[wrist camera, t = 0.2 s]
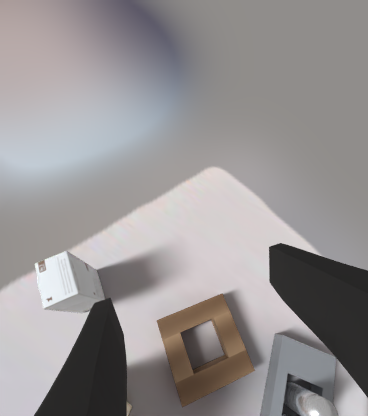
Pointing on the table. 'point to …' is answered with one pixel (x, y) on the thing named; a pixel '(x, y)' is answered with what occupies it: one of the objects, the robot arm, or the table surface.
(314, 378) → the bored beam
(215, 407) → the table surface
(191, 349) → the table surface
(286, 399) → the metal axle
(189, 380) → the walnut seat block
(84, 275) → the skincare box
